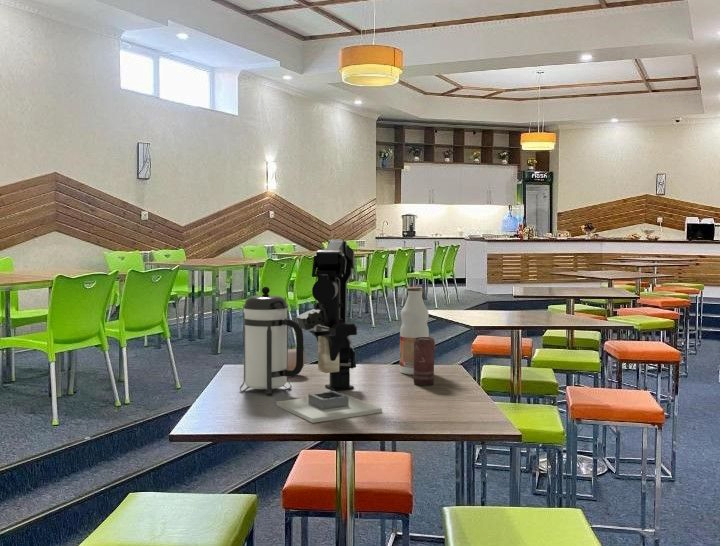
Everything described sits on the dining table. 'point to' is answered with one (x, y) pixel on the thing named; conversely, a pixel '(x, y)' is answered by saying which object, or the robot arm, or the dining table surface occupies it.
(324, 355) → the square peg
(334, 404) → the square socket
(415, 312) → the fruit juice
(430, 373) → the can
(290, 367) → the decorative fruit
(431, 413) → the dining table surface
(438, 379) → the dining table surface
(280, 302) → the coffee press
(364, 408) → the socket board
